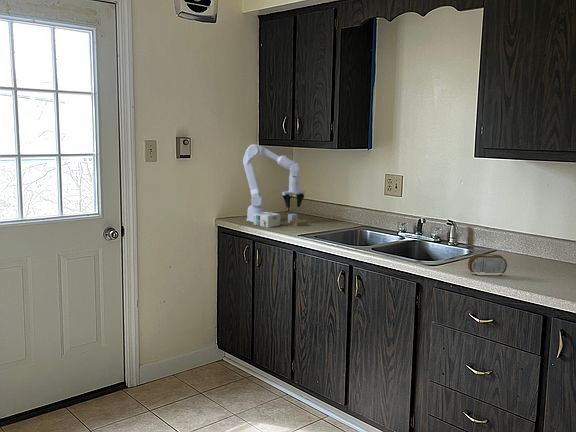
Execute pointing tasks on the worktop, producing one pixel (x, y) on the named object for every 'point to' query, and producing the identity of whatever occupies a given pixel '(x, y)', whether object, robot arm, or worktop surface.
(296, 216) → the blue block
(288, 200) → the robot arm
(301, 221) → the walnut slab
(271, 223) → the light bulb box
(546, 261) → the worktop surface
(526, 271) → the worktop surface
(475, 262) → the tin
